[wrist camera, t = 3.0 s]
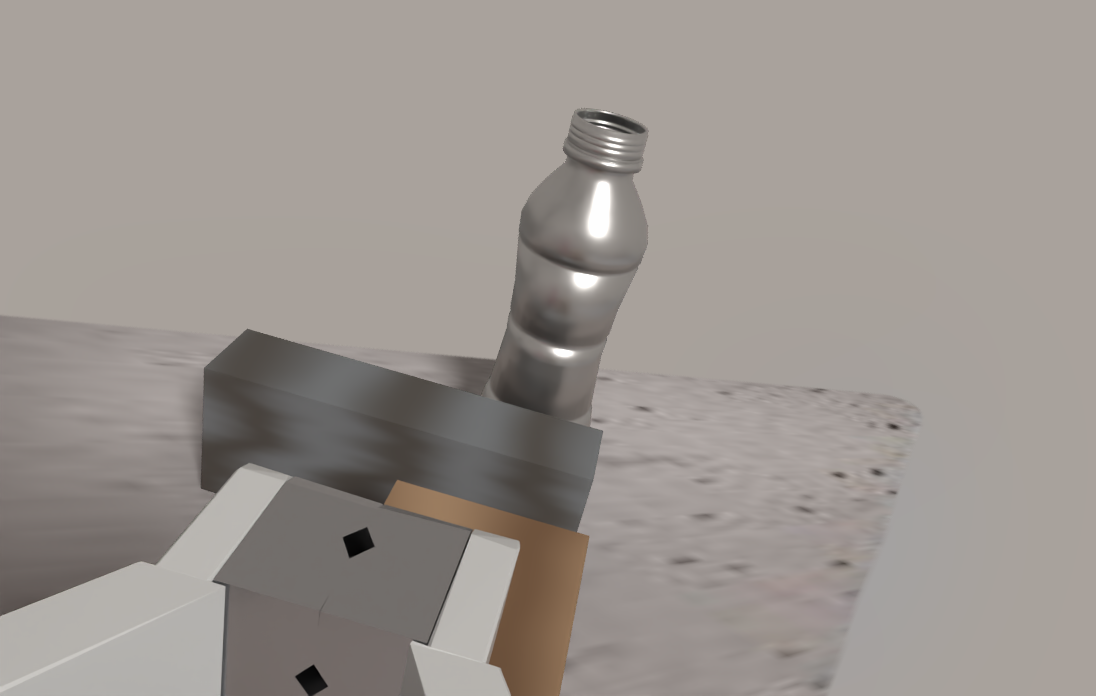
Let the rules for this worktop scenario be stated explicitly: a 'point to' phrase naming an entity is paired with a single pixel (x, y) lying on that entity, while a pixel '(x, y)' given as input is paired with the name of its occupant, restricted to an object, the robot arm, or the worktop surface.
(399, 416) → the charcoal board
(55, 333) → the worktop surface
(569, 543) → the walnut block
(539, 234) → the silver metal bottle
